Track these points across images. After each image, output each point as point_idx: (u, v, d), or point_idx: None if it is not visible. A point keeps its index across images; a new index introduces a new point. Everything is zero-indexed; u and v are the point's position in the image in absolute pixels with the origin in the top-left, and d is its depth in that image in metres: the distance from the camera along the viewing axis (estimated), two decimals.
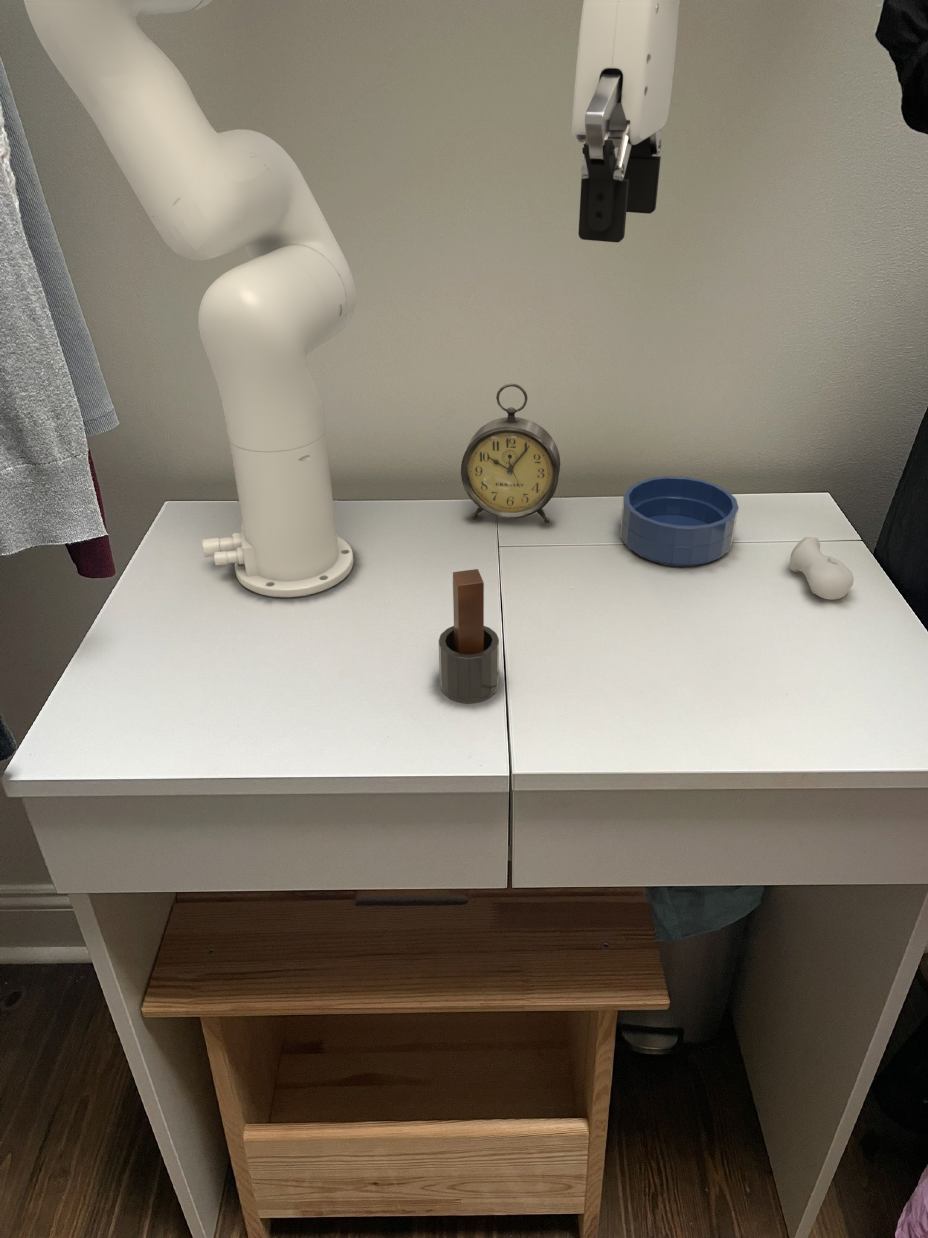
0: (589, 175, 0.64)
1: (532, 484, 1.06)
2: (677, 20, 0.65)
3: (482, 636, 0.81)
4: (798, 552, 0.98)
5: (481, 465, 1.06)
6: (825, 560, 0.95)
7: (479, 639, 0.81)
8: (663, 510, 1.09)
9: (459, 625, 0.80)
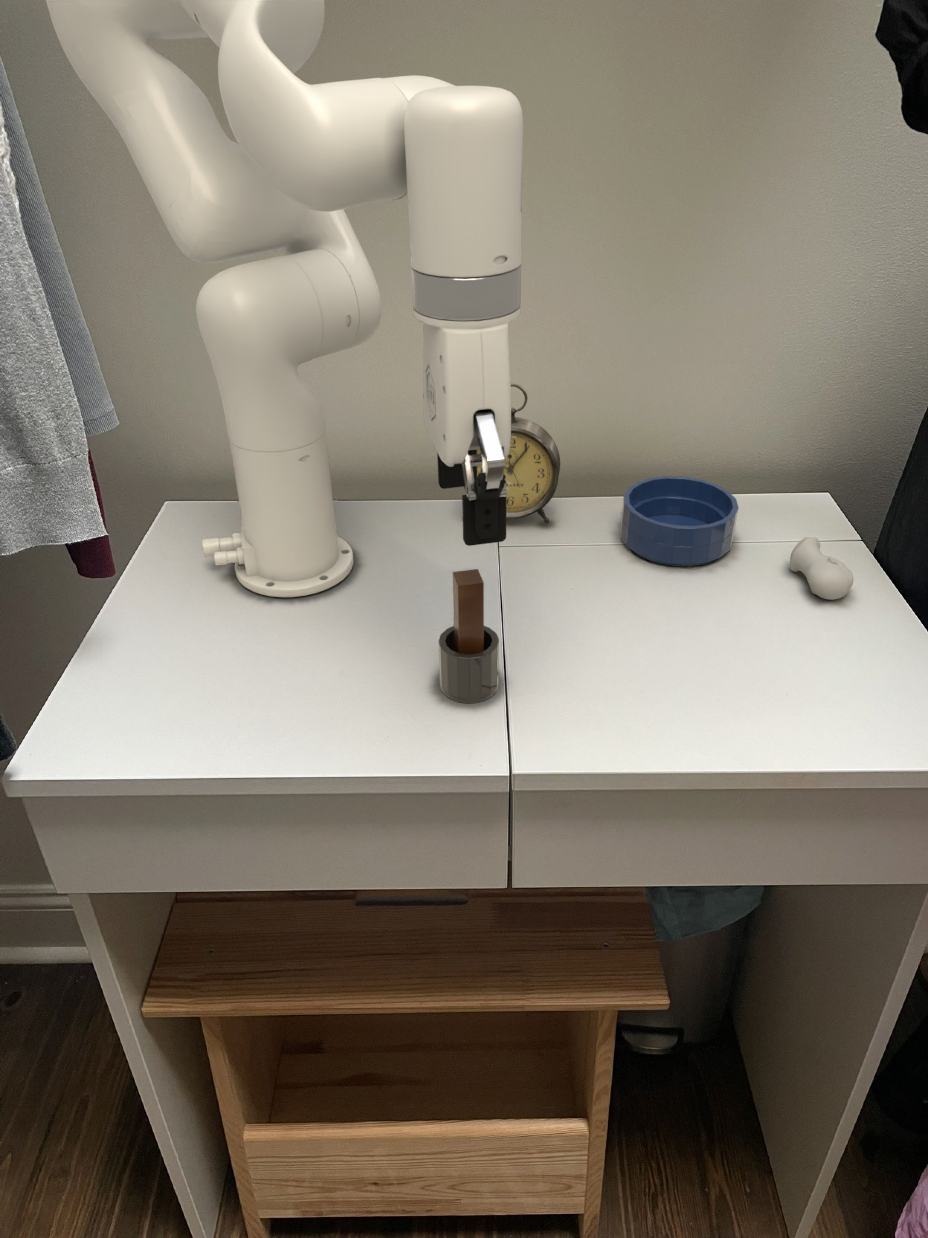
0: (477, 498, 0.67)
1: (532, 484, 1.06)
2: None
3: (482, 636, 0.81)
4: (798, 552, 0.98)
5: None
6: (825, 560, 0.95)
7: (479, 639, 0.81)
8: (663, 510, 1.09)
9: (459, 625, 0.80)
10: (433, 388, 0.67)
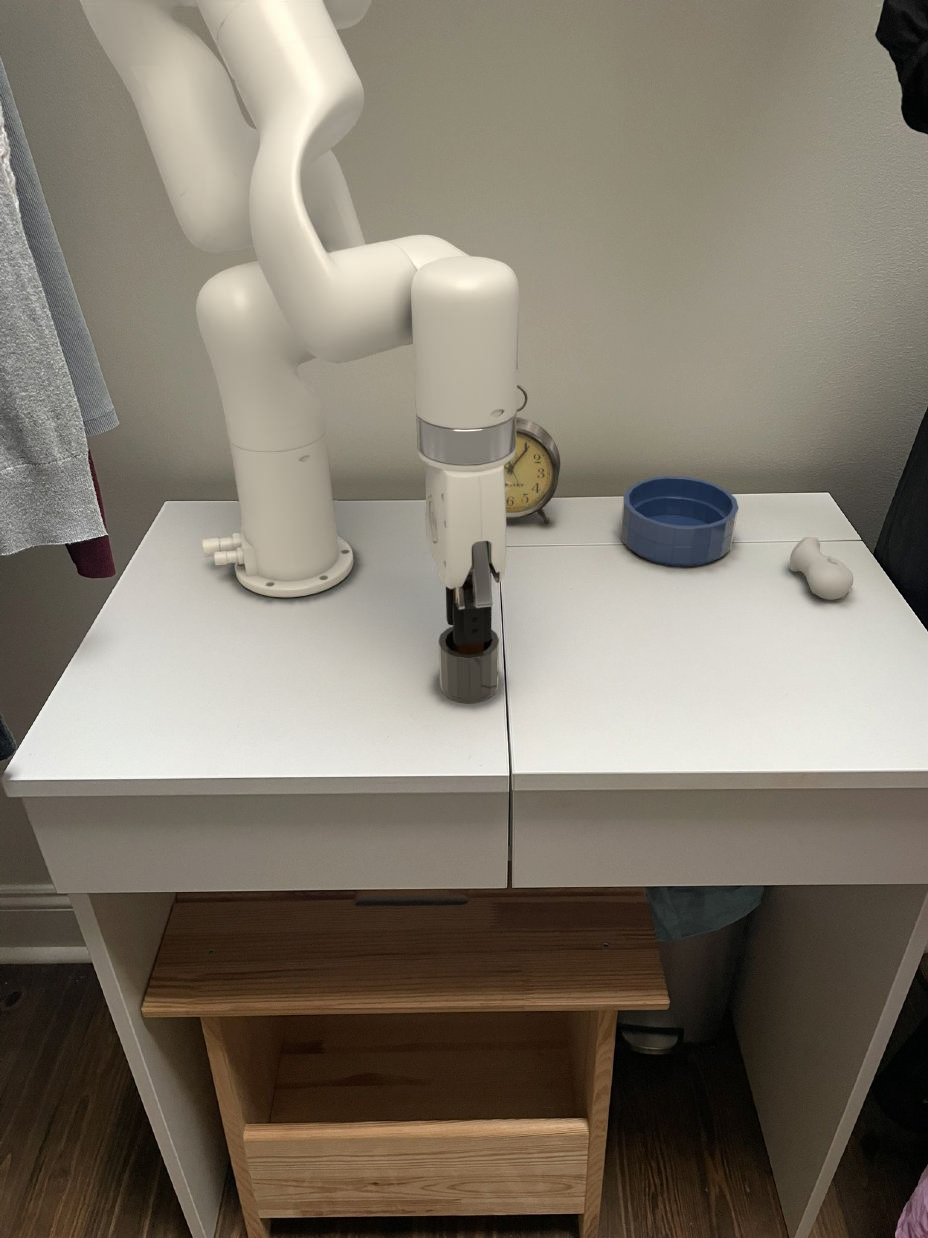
0: (466, 608, 0.77)
1: (532, 484, 1.06)
2: None
3: None
4: (798, 552, 0.98)
5: None
6: (825, 560, 0.95)
7: None
8: (663, 510, 1.09)
9: None
10: (435, 517, 0.73)
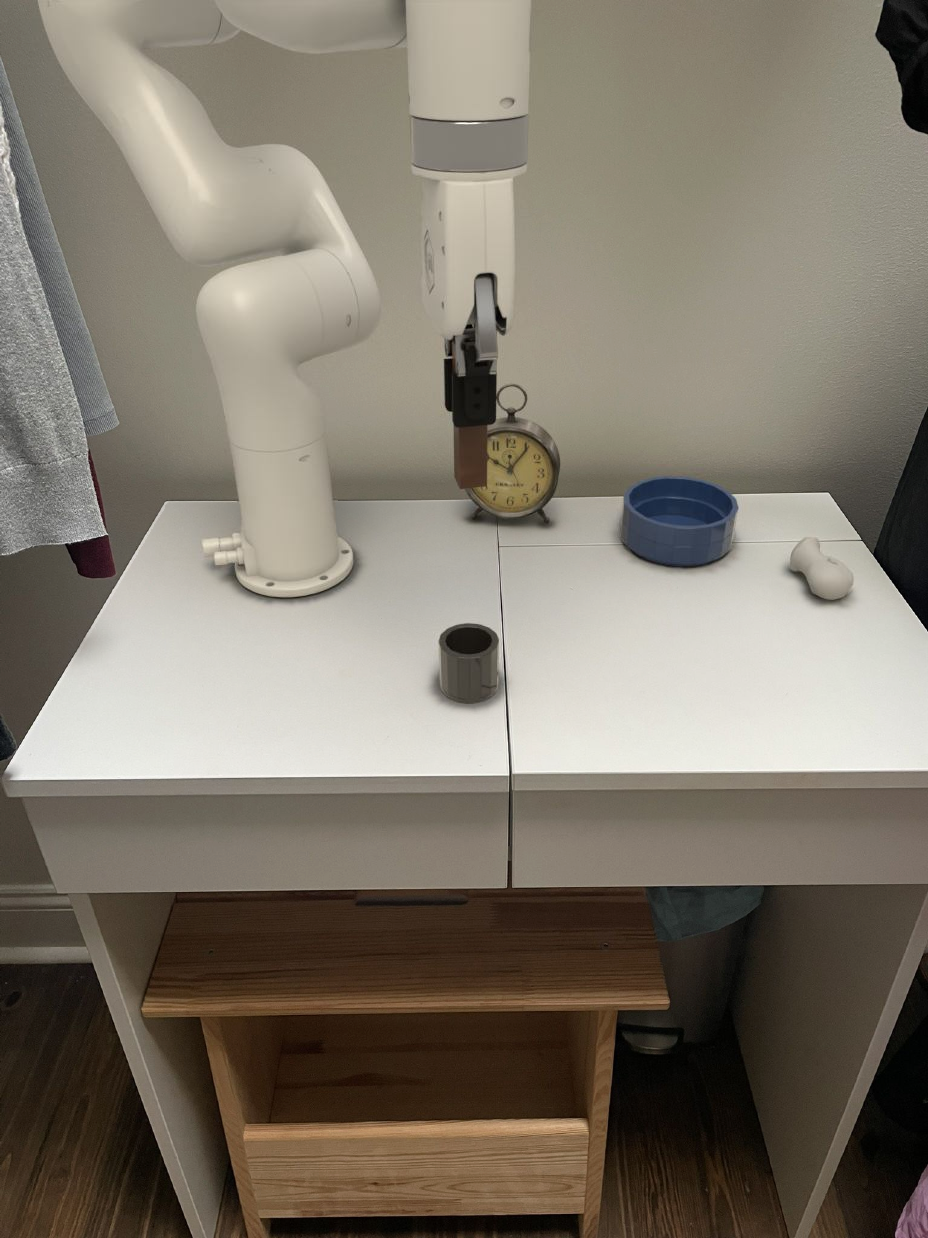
0: (467, 374, 0.66)
1: (532, 484, 1.06)
2: None
3: None
4: (798, 552, 0.98)
5: None
6: (825, 560, 0.95)
7: None
8: (663, 510, 1.09)
9: None
10: (431, 254, 0.63)
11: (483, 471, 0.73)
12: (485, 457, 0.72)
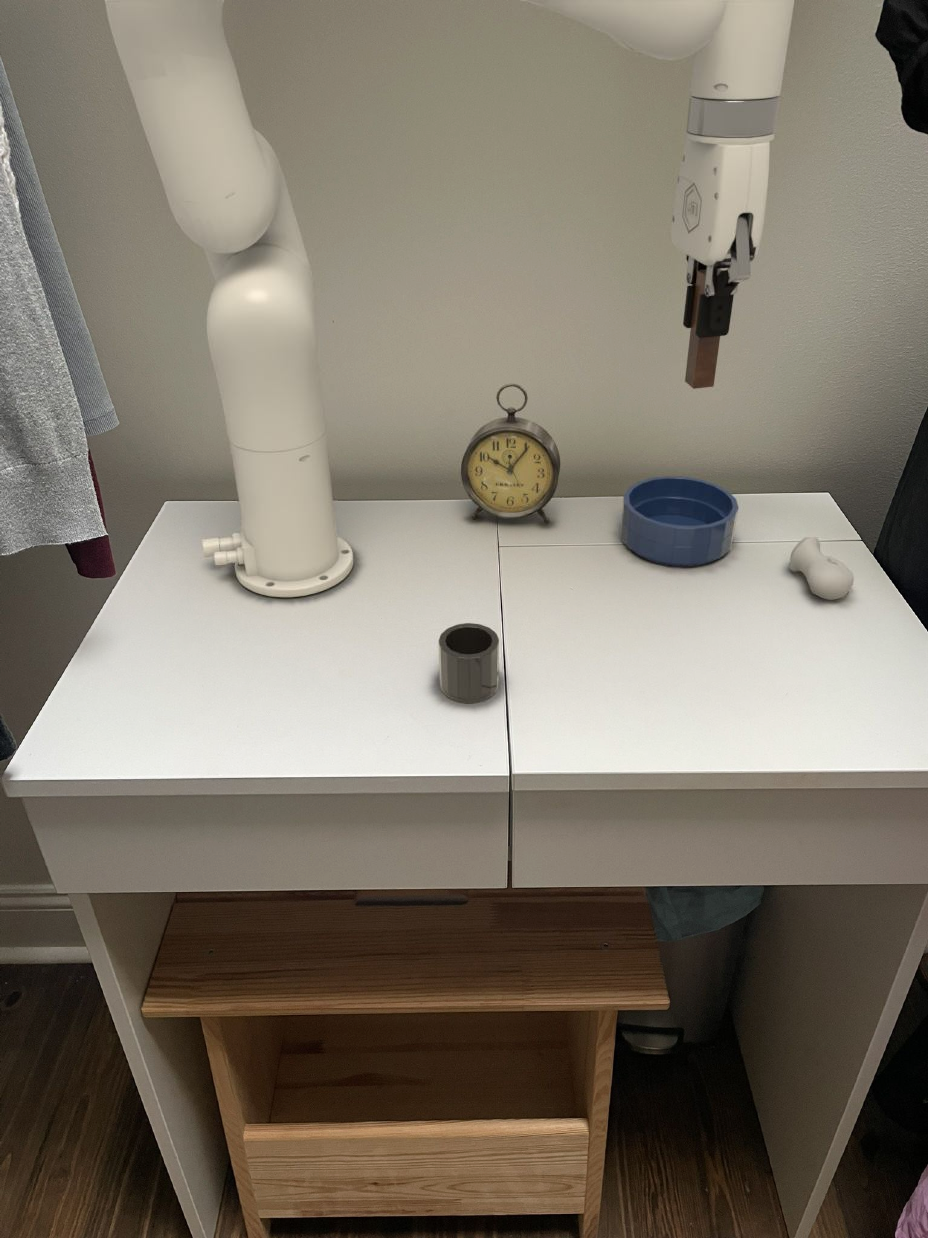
0: (715, 294, 0.88)
1: (532, 484, 1.06)
2: None
3: None
4: (798, 552, 0.98)
5: (481, 465, 1.06)
6: (825, 560, 0.95)
7: None
8: (663, 510, 1.09)
9: None
10: (698, 201, 0.84)
11: (712, 374, 0.94)
12: (715, 362, 0.93)
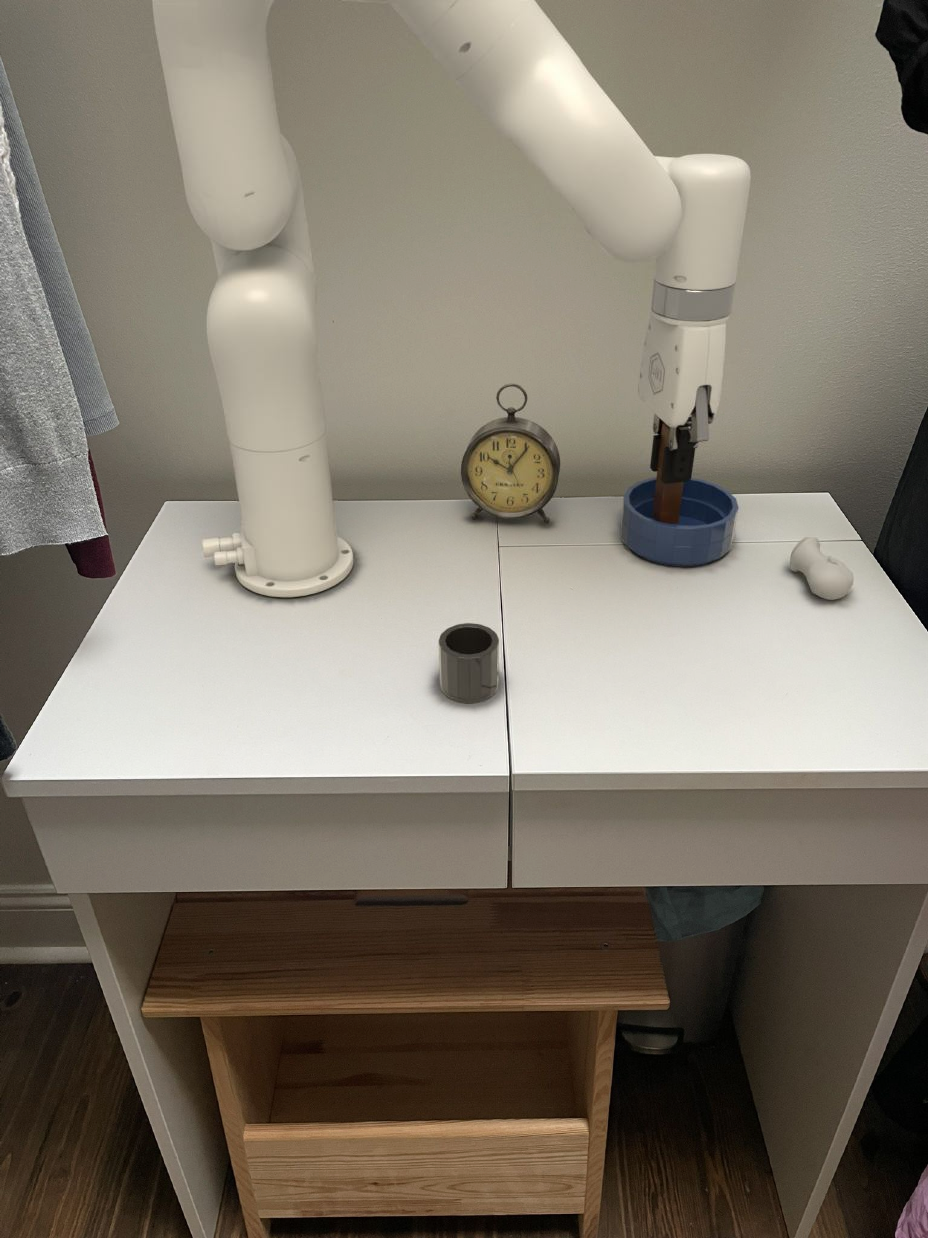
0: (678, 448, 0.96)
1: (532, 484, 1.06)
2: None
3: None
4: (798, 552, 0.98)
5: (481, 465, 1.06)
6: (825, 560, 0.95)
7: None
8: None
9: None
10: (662, 369, 0.92)
11: (677, 513, 1.02)
12: (679, 503, 1.01)
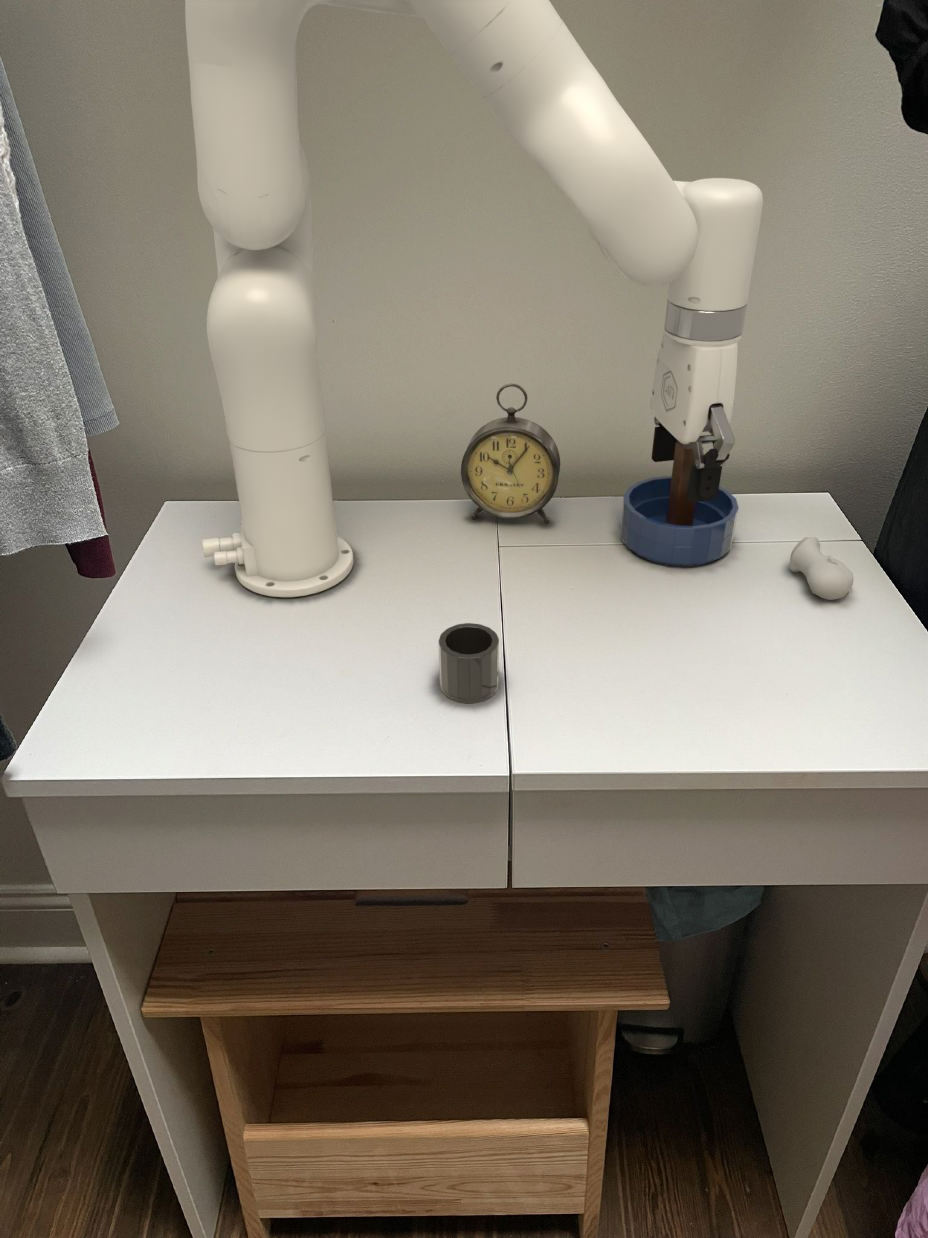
0: (705, 467, 0.94)
1: (532, 484, 1.06)
2: None
3: None
4: (798, 552, 0.98)
5: (481, 465, 1.06)
6: (825, 560, 0.95)
7: None
8: (663, 510, 1.09)
9: (680, 484, 1.01)
10: (675, 387, 0.94)
11: None
12: (692, 519, 1.03)
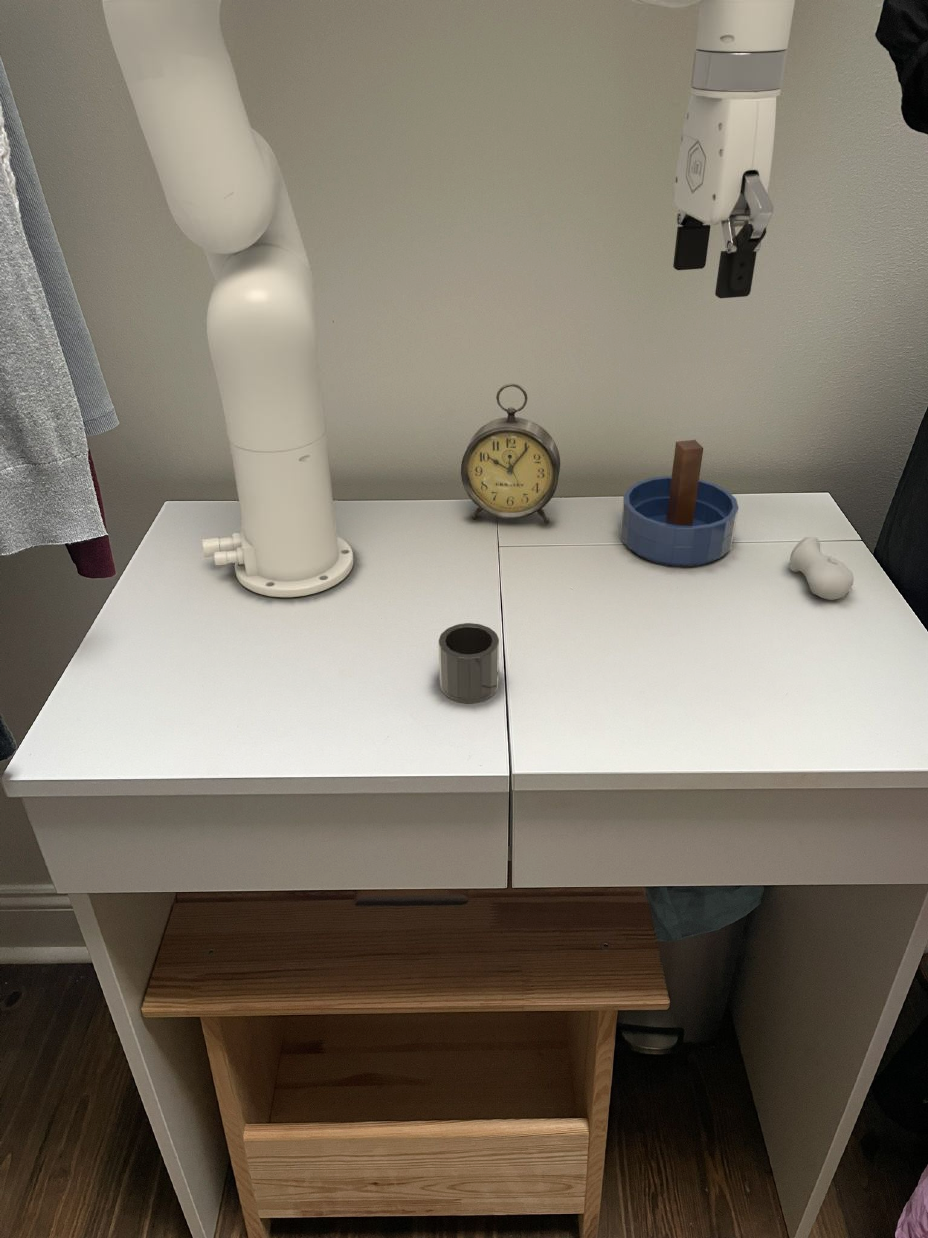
0: (737, 250, 0.82)
1: (532, 484, 1.06)
2: None
3: (695, 495, 1.02)
4: (798, 552, 0.98)
5: (481, 465, 1.06)
6: (825, 560, 0.95)
7: (693, 497, 1.02)
8: (663, 510, 1.09)
9: (680, 484, 1.01)
10: (702, 158, 0.82)
11: None
12: (692, 519, 1.03)
